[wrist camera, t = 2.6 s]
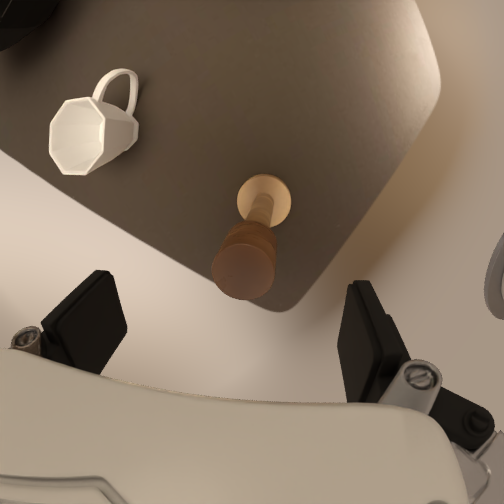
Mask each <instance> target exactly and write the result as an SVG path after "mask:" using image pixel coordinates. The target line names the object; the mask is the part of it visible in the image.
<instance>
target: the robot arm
mask: <svg viewBox="0 0 504 504" xmlns="http://www.w3.org/2000/svg"><path fill="white" fill-rule="evenodd" d="M501 293H502V297H503V299H504V273H503V278H502V284H501ZM41 325H42V327H43V329H44V331H43V332H42V333H41V331H40V329H39V328H37V327H35V326H30V327H26V328H23V329H21V330H20V331H18V332H17V333H16V334H15V336H14V337H13V339H12V342H11V348H8V349H6V348H5V349H4V348H3V349H0V504H504V433H503V432H502V431H501V430H500V431H499V432H498V433H497V432H496V431H494V427H495V424H494V419H493V417H492V415H491V414H490V413H489V411H488V410H486V409H485V408H483V407H481V406H479V405H477V404H475V403H473V402H471V401H469V400H467V399H465V398H463V397H461V396H459V395H457V394H455V393H453V392H451V391H449V390H447V389H445V388H443V387H441V384H442V375H441V373H440V371H439V370H438V368H437V367H436V366H434V365H433V364H431V363H430V362H428V361H424V360H417V359H415V360H411V358H410V356H409V354H408V351H407V349H406V347H405V345H404V342H403V340H402V338H401V336H400V334H399V332H398V329H397V327H396V325H395V323H394V321H393V319H392V317H391V316H390V315H389V314H386V313H385V311H384V309H383V307H382V305H381V303H380V301H379V299H378V297H377V295H376V293H375V291H374V289H373V287H372V285H371V283H370V281H367V280H355V281H354V282H353V284H349V285H348V288H347V295H346V300H345V306H344V311H343V317H342V322H341V327H340V332H339V337H338V343H337V348H338V354H339V358H340V364H341V369H342V375H343V380H344V386H345V392H346V398H347V403H297V402H271V401H270V402H269V401H253V400H240V399H229V398H220V397H210V396H202V395H195V394H188V393H182V392H176V391H170V390H164V389H159V388H154V387H149V386H144V385H139V384H134V383H129V382H125V381H121V380H117V379H112V378H109V377H105V376H101V375H100V373H101V372H102V370H103V369H104V367H105V365H106V364H107V362H108V361H109V359H110V358H111V356H112V354H113V353H114V352H115V350H116V349H117V347H118V345H119V344H120V343H121V341H122V340H123V338H124V337H125V335H126V333H127V324H126V321H125V317H124V314H123V311H122V307H121V303H120V300H119V296H118V292H117V288H116V284H115V281H114V277H113V275H111V274H110V272H109V271H105V270H96V271H94V272H93V273H92V274H91V275H90V276H89V277H88V278H86V279H85V280H84V281H83V282H82V283H81V284H80V285H79V286H78V287H77V288H75V289H74V290H73V291H72V292H71V293H70V294H69V295H68V296H67V297H66V298H65V299H64V300H63V301H62V302H61V303H60V304H59V305H58V306H57V307H55V308H54V309H53V311H52V312H50V313H49V314H48V315H47V316H46V318H44V319H43V320H42V321H41Z"/></svg>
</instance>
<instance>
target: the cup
mask: <svg viewBox="0 0 504 504" xmlns="http://www.w3.org/2000/svg"><path fill="white" fill-rule="evenodd" d="M122 74H128V75H129V76H130V83H131V84H130V99H129V104H128V108H127V110H126V112H124V111H123V110H121V109H120V108H118V107H117V106H114V105H111V104H108V103H105V102H102V99H103V96H104V93H105V90H106V87H107V85H108V84H109V82H110V81H111V80H113V79H114V78H116V77H117V76H118V75H122ZM137 94H138V76H137V75H136V74H135V72H134V71H131V70H128V69H116V70H112V71H111V72H109V73H108V74H106V75H105V76H103V78H102V79H101V80H100V82H99V83H98V85H97V87H96V89H95V91H94V93H93V96H92V98H91V97H84V98H78V99H71V100H66V101H65V102H64V104H63V105H62V107H61V108H60V109H59V111H58V112H57V114H56V115H55V117H54V118H53V120H52V121H51V123H50V135H49V154H50V155H51V157H52V158H53V160H54V161H55V163H56V164H57V166H58V167H59V169H60V170H61V172H62V173H63V174H68V175H86V174H88V173H90V172H92V171H93V170H95V169H97V168H98V167H100V166H102V165H104V164H106V163H107V162H109V161H111V160H113V159H114V158H115V157H117V156H118V155H119V154H121V153H122V152H123V151H127V150H128V149H129V148H130V147H131V146H132V145H133V144H134V143H135V142H136V141H137V140H138V129H139V123H138V122H137V121H136V119H135V118H134V117H133V116H132V115H133V112H134V110H135V106H136V102H137Z"/></svg>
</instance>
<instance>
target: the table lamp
mask: <svg viewBox="0 0 504 504" xmlns="http://www.w3.org/2000/svg"><path fill="white" fill-rule="evenodd" d="M58 2H59V0H0V51H2V50H4V49H7V48H9V47H11V46H12V45H14V44H16V43H17V42H18V41H20V40H21V39H22V38H24V37H25V36H26V35H28V34H29V33H30V32H31V31H33V30H34V29H35V28H37V27H38V26H39V25H41V24H42V23H43V22H45V21H46V20H47V19H48V18H49V16H50V14H51V13H52V11H53V10H54V8H55V7H56V5H57V4H58Z"/></svg>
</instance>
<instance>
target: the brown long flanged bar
mask: <svg viewBox="0 0 504 504" xmlns="http://www.w3.org/2000/svg"><path fill="white" fill-rule="evenodd" d="M237 206H238V210H239V212H240V214H241V216H242V217H243V218H244V219H245V221H243V222H240V223H238V224H236V225H235V226H233V227H232V228H231V230H230V231H229V232H228V234H227V236H226V238H225V240H224V242H223V243H222V245H221V247H220V249H219V251H218V253H217V255H216V256H215V258H214V261H213V264H212V276H213V279H214V281H215V283H216V285H217V286H218V288H219V289H220V290H221V291H222V292H224V293H225V294H226V295H228V296H230V297H232V298H235V299H239V300H252V299H256V298H259V297H261V296H262V295H264V294H265V293H266V292H267V291H268V290H269V289H270V288H271V286H272V284H273V282H274V278H275V267H276V255H277V240H276V237H275V235H274V233H273V232H272V230H271V229H270V227H273V226H276V225H278V224H279V223H281V222H282V221H283V220H284V219H285V218H286V217H287V215H288V213H289V211H290V208H291V195H290V191H289V189H288V187H287V186H286V184H285V183H284V182H283V181H282V180H281V179H279V178H278V177H276V176H274V175H270V174H259V175H255V176H253V177H251V178H249V179H248V180H247V181H246V182H245V183H244V184H243V185H242V187H241V188H240V190H239V193H238V197H237Z"/></svg>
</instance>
